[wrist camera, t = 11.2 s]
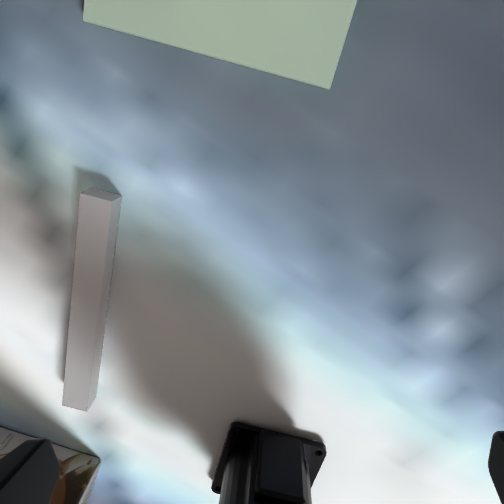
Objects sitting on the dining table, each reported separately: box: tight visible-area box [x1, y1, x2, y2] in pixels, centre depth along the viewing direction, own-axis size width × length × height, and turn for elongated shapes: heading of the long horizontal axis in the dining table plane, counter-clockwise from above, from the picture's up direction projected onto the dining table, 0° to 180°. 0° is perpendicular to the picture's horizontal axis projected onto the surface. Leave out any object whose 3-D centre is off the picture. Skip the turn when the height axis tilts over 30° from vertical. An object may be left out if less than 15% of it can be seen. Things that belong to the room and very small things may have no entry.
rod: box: [62, 188, 122, 411], centre depth 22 cm, size 14×2×2 cm, turn 165°
